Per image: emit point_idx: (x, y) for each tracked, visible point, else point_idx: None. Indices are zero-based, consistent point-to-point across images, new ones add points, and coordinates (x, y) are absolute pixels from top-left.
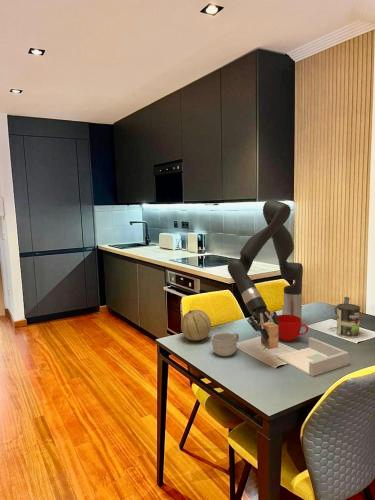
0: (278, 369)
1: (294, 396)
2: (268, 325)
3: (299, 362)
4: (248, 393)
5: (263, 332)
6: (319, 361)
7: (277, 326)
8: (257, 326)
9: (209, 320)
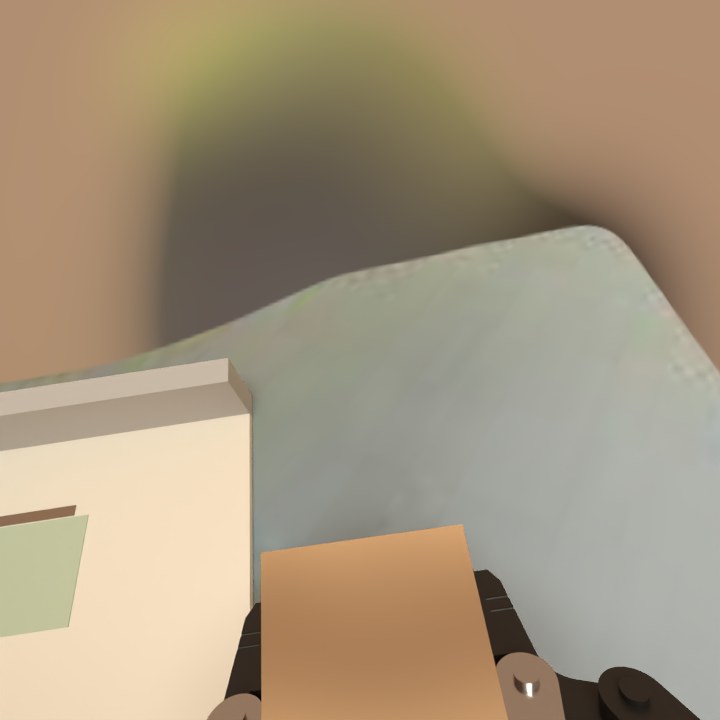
0: None
1: (451, 284)
2: (430, 630)
3: (184, 564)
4: (663, 362)
5: (521, 628)
6: (167, 368)
7: (282, 552)
8: (674, 711)
9: None
